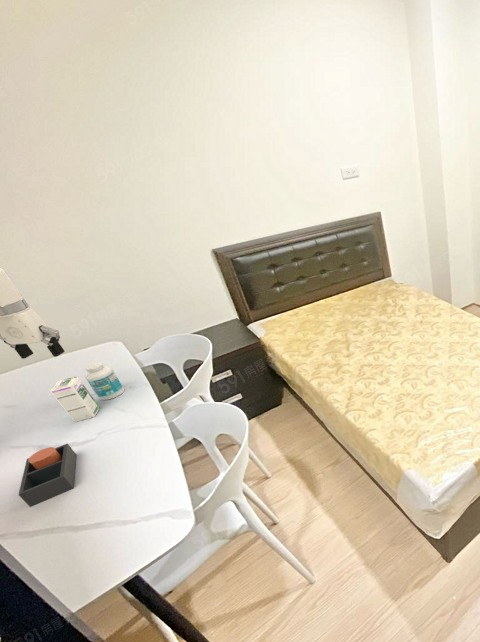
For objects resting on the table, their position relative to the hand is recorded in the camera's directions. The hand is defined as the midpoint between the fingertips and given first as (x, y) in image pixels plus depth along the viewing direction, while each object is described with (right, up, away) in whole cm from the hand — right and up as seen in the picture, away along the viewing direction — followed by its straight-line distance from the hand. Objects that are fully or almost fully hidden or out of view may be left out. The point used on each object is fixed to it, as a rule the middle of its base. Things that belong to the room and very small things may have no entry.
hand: (43, 355), depth 127 cm
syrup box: (-1, -23, +14) cm, 27 cm away
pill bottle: (-2, -17, +24) cm, 30 cm away
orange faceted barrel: (+14, -34, -9) cm, 38 cm away
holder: (+16, -36, -11) cm, 41 cm away
